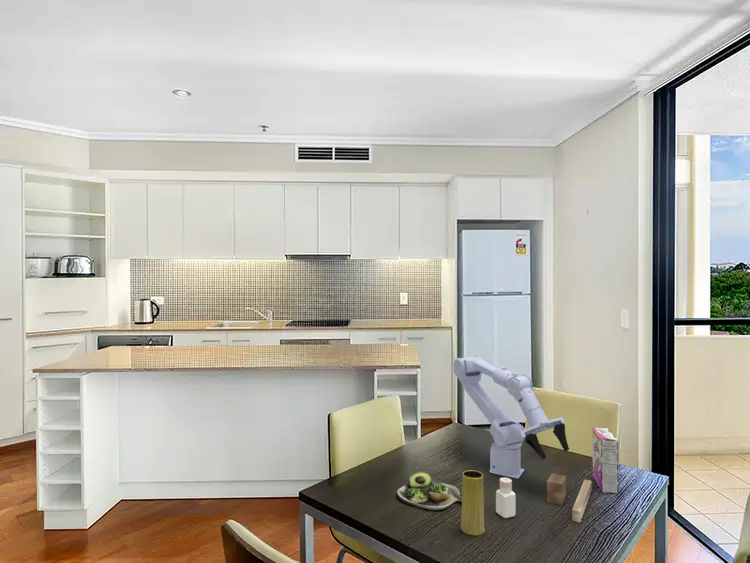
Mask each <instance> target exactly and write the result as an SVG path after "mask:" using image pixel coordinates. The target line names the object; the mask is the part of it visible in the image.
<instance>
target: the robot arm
mask: <svg viewBox="0 0 750 563" xmlns="http://www.w3.org/2000/svg"><path fill="white" fill-rule="evenodd" d="M452 367H453V374H454V375H455V376H456V378H457V379H458V381H460V383H461V385H462V387H463V389H464V391H465V392H466V394H468V396H469V397H470V399H471V400H472V401H473V402H474V404H475V405H476V407H477V408H478V409H479V410H480V412H481V413H482V414H483V415H484V417H485V418H486V419H487V420H488V423H490V424H491V425H490V427H489V433H490V435H491V436H492V438H493V441H494V442H492V444H491V447H490V451H489V453H490V454H489V458H490V459H489V464H490V465H489V473H491V474H495V475H499V476H504V477H506V478H511V479H512V478H513V479H517V480H518V479H519V478H520V477H521V476H522V474H523V473H524V471H525V469H524V468H521V464H522V463H521V462H522V461H521V457H522V456H521V455H522V454H521V447H522V446H523V442H524V443H525V444H527V445H528V446H529V447H531V448H532V450H533V451H535V453H536V454H537V455H538V456H539V458H540V459H541V460H542V461H544V460H545V459H547V455H546V453H545V451H544V449H543V448H542V446H541V444H540V441H539V438H538V436H537V434H539V433H542V432H545V431H548V430H551V429H553V431H552V433H553V434H554V436H555V437H556V438H557V440H558V442H559V443H560V446H561V447H562V449H563V450H564V452H568V450H570V448H569V444H568V440H567V435H566V425H565V424H566V421H565V419H564V417H563V416H561V417H557V418H553V419H550V420H549V418H548V417H547V415H546V413H545V412H544V410H543V408H542V406H541V404H540V402H539V400H538V398H537V396H536V394H535V393H534V391H533V389H534V386H533V381H532V379H531V378H530V377H529V376H527V375H526V374H522V375H519V374H518V373H517V372H513V371H510V370H509V369H508V368H507V367H506V366H501V367H495V366H494V365H492V364H490V363H488V362H487V361H485V360H484V358H483V357H480V356H478V355H475V356H468V357H457V358H455V359H454V361H453V366H452ZM483 375H486V376H488V377H491V378H492V380H493V382H494V384H495V383H496V384H497V385H499V386H500V387H503V388H504V389H507V393H508V394H509V395H510V396H512V397H513V398H514V400H515V401H517V403H518V404H519V407H520V409H521V411H522V413H523V415H524V416H525V418H526V421H527V422H528V424H529V427H528V428H524V426H523V425H522V424H520V423H519V422H517V421H516V420H515V419H514V418H512V417H510V416H507V415H505V414H504V413H503V411H502V410H501V409H500V408H499V407H498V405H497V404H496V402H495V401H494V400H493V399H492V397H490V395H489V394H488V392H486V390H484V388H483V387H482V386H481V384H480V382H481V380H482V376H483Z"/></svg>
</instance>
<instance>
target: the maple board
mask: <svg viewBox="0 0 750 563" xmlns="http://www.w3.org/2000/svg"><path fill="white" fill-rule="evenodd" d="M591 493H592V480H590V479H585V478H584V480H583V482H582V485H581V487H580V490H579V491H578V494H577V497H576V500H575V501H574V504H573V507H572V509H571V510H572V511H571V515H572V516H571V517H572V518H571V521H572V522H574V521H575V522H574V523H579V524H581V523H580V522H582V520H581V519H583V518H584V517H583V516H584V515H585V510H586V508H587V505H588V503H589V502H588V501H589V499H590V496H591Z"/></svg>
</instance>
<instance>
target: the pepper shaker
mask: <svg viewBox="0 0 750 563" xmlns="http://www.w3.org/2000/svg"><path fill="white" fill-rule="evenodd" d="M512 484H513V480H512V478H510V477H500V478H499V488H498V489H497V490H496V491H495V512H496V513H497V514H498V515H499V516H501V517H502V518H503V519H507V518H512V517H515V516H516V504H517V503H516V502H517V500H516V499H517V498H516V497H517V496H516V493H515V492H514V491H513V490H512V488H513V485H512Z"/></svg>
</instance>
